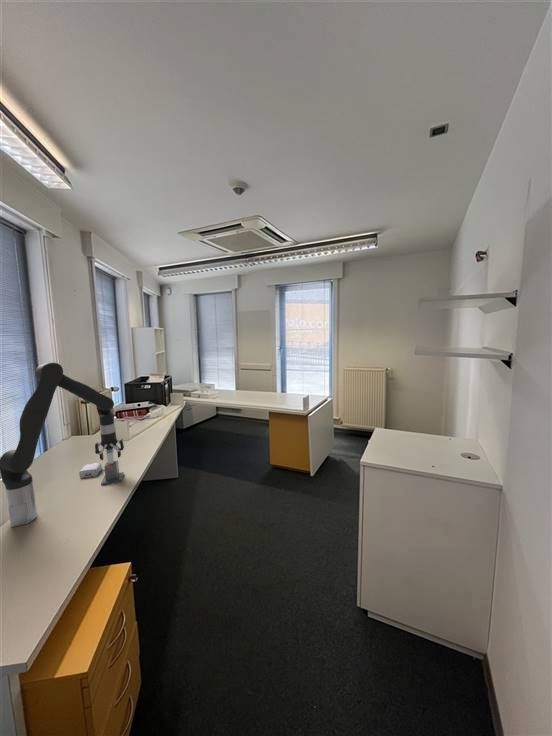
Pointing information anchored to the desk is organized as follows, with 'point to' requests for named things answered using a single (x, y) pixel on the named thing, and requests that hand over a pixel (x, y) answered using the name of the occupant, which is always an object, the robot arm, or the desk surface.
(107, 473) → the stand
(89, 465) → the charger
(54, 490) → the desk surface
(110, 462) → the column
